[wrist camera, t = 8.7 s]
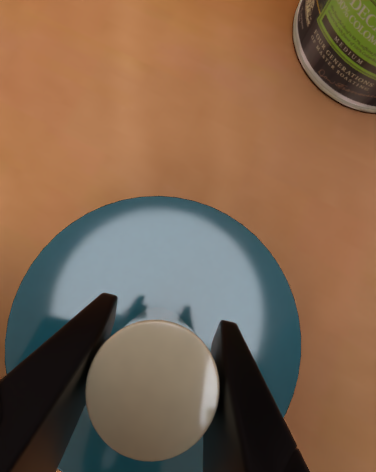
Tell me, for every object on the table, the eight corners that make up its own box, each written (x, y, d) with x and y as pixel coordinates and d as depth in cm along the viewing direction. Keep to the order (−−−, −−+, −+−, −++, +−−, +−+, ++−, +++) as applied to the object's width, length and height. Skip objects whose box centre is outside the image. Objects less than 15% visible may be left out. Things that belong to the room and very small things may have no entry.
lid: (211, 546, 16) (292, 954, 6) (-46, 394, 16) (-368, 548, 6) (336, 284, 18) (542, 270, 9) (112, 155, 19) (56, -5, 9)
